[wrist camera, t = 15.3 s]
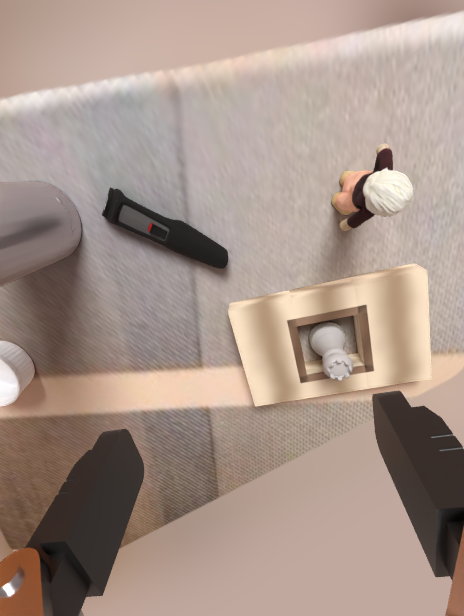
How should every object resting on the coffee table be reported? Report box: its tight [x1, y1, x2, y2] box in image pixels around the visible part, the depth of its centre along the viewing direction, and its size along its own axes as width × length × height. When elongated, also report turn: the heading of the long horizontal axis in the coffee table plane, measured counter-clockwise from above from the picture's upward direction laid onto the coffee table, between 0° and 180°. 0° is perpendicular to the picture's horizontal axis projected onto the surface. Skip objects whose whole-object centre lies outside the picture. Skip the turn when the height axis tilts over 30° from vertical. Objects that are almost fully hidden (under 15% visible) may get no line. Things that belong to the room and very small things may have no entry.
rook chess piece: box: [309, 322, 353, 381], centre depth 38 cm, size 4×4×8 cm
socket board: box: [228, 263, 432, 407], centre depth 40 cm, size 22×14×3 cm, turn 105°
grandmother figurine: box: [331, 144, 413, 231], centre depth 29 cm, size 8×4×13 cm, turn 172°
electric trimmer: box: [102, 188, 228, 269], centre depth 37 cm, size 4×16×3 cm, turn 64°
